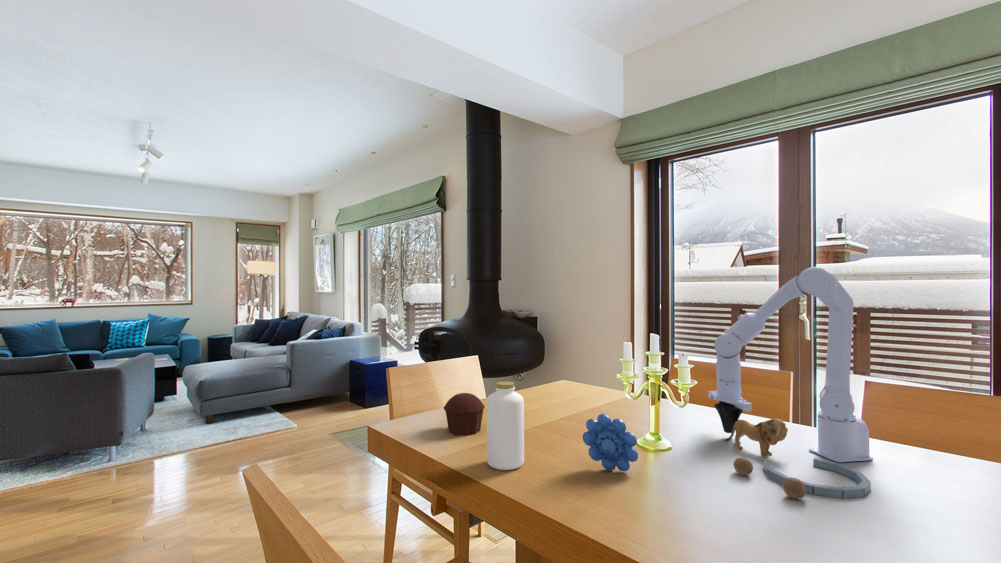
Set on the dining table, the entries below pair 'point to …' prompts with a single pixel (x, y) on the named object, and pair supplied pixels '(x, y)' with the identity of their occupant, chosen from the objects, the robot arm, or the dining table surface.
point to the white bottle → (505, 427)
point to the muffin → (464, 414)
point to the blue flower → (610, 443)
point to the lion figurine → (760, 433)
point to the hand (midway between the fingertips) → (729, 432)
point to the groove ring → (829, 491)
